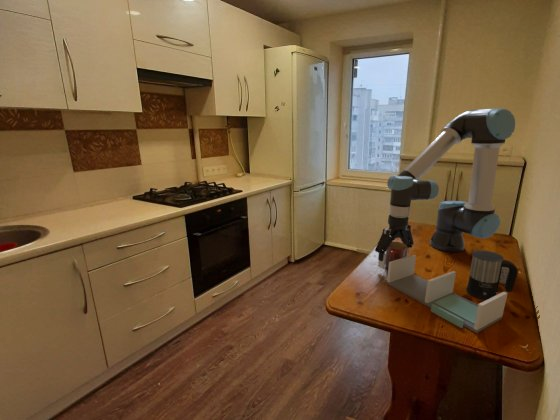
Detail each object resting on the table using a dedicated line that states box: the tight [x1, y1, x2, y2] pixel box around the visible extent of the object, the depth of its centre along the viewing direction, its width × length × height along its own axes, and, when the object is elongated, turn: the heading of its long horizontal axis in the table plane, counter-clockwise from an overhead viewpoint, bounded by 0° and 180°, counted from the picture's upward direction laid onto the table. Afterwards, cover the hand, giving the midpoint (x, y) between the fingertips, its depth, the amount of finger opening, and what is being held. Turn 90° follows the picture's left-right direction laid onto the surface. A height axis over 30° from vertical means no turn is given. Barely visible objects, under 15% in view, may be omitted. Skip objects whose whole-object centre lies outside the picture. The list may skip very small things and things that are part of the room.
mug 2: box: [499, 267, 509, 285], centre depth 120 cm, size 10×7×7 cm
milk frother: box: [465, 249, 519, 300], centre depth 111 cm, size 14×16×15 cm
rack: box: [386, 254, 508, 334], centre depth 104 cm, size 16×33×9 cm, turn 30°
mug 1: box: [385, 240, 407, 269], centre depth 127 cm, size 12×9×10 cm
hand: (392, 264), depth 127 cm, fingers open, 13 cm apart
